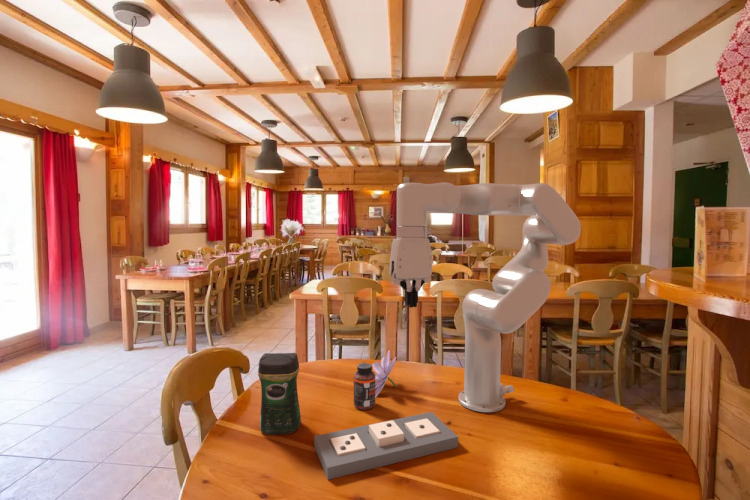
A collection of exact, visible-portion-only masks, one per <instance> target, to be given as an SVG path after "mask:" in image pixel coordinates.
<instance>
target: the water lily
mask: <svg viewBox="0 0 750 500" xmlns="http://www.w3.org/2000/svg"><path fill="white" fill-rule="evenodd" d="M396 359H397V357H396V356H395V357H394V358H393V359H392V361H391V351H390V349H389V350H388V351H387V353H386V356H384V357H382V358H381V360H380V362H378V361H375V362H373V363H372V370H373V372H374V373H375V398H377V397H378V395H379V394H380V393H381V392H382V390H383V388H384V386H385V385H386V381H387V380H388V381H389V382H390V383H391V384H392V386H394V388H397V387H398V385H397V384H396V383H395V382H394V380H392V379H391V378H390V377H389V375H390V374H391V372H392V370H393V368H394V366H395V365H396V361H397V360H396Z"/></svg>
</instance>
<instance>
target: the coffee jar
mask: <svg viewBox="0 0 750 500" xmlns="http://www.w3.org/2000/svg"><path fill="white" fill-rule="evenodd" d="M258 362H259V363H258V369H257V375H258V378H259V381H260V387H261V388H260V389H261V390H260V391H261V401H260V416H259V429H260V431H261V432H262V433H263V434H266V435H285V434H292V433H294V432H296V431H297V430H298V429H299V428H300V425H301V422H302V420H301V419H302V416H301V409H300V401H299V396H298V395H299V394H298V393H299V392H298V380H297V379H298V378H297V377H298V375H299V373H300V363H299V357H298V355H297V352H287V353H286V352H285V353H284V352H282V353H281V352H276V353H268V352H265V353H264V354H263V355H262V356H261V357H260V358H259V361H258Z"/></svg>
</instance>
